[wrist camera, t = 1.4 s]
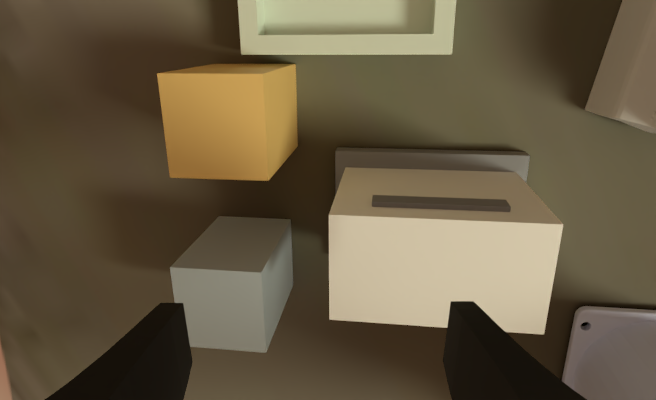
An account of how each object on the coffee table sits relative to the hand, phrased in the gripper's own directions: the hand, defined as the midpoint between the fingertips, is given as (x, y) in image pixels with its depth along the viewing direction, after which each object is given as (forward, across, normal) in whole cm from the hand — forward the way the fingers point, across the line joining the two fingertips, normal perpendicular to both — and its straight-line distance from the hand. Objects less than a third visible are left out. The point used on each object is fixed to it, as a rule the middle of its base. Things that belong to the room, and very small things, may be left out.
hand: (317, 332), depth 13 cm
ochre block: (+13, +3, -3) cm, 14 cm away
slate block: (+12, +4, +5) cm, 14 cm away
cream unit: (+11, -5, +2) cm, 13 cm away
